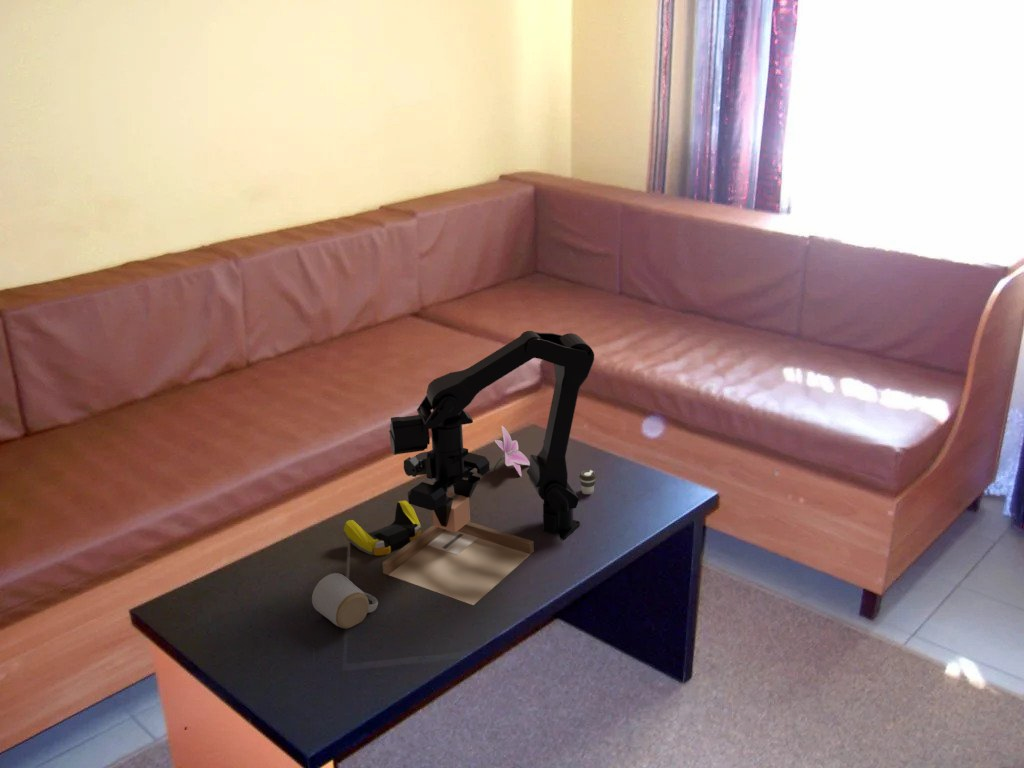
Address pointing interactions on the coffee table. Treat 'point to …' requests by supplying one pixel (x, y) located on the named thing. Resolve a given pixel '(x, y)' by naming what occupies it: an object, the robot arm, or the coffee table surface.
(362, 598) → the ceramic mug
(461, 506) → the cube
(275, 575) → the coffee table surface
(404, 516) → the gaming controller
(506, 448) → the lily
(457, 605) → the coffee table surface
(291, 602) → the coffee table surface
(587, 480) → the coffee cup
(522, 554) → the arena
